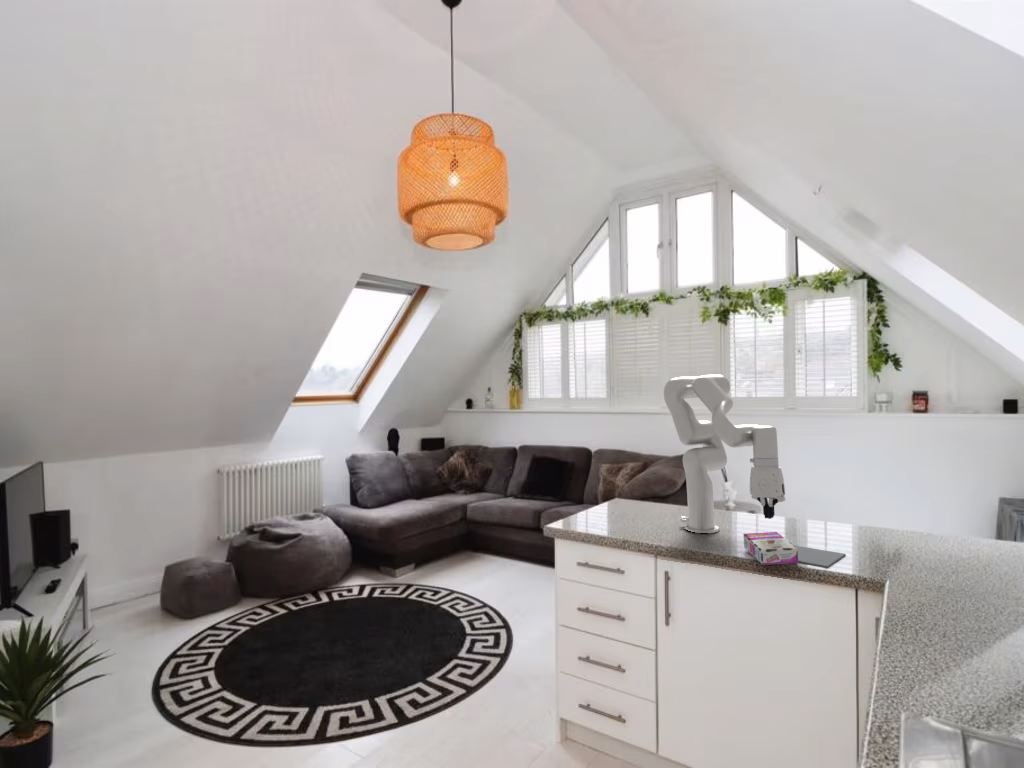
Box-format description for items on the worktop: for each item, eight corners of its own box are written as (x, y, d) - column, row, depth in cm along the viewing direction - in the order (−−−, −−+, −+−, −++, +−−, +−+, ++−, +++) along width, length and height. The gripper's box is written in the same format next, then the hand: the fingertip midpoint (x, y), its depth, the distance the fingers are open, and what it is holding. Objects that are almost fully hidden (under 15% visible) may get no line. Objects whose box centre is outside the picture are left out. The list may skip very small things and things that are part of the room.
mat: (760, 555, 182) (760, 553, 182) (780, 544, 193) (780, 543, 193) (827, 567, 167) (827, 566, 167) (845, 555, 178) (845, 553, 178)
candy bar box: (743, 548, 188) (761, 565, 172) (742, 533, 188) (760, 549, 172) (778, 546, 187) (799, 563, 171) (777, 531, 187) (797, 547, 171)
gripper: (739, 462, 191) (742, 517, 190) (784, 465, 180) (787, 523, 179) (749, 460, 196) (752, 513, 195) (793, 462, 185) (797, 518, 184)
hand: (769, 517), depth 187 cm, fingers closed
